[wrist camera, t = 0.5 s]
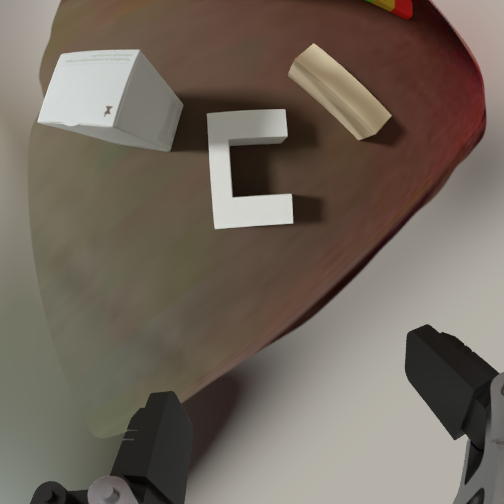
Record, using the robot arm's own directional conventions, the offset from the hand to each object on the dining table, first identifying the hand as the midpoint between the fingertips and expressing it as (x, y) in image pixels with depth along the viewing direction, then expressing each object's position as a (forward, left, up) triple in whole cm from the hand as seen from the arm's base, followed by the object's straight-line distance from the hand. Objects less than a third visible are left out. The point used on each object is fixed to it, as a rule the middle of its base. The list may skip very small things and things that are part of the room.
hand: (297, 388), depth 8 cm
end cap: (-9, 0, -26) cm, 27 cm away
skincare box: (-16, -12, -26) cm, 33 cm away
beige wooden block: (-18, +11, -26) cm, 33 cm away
